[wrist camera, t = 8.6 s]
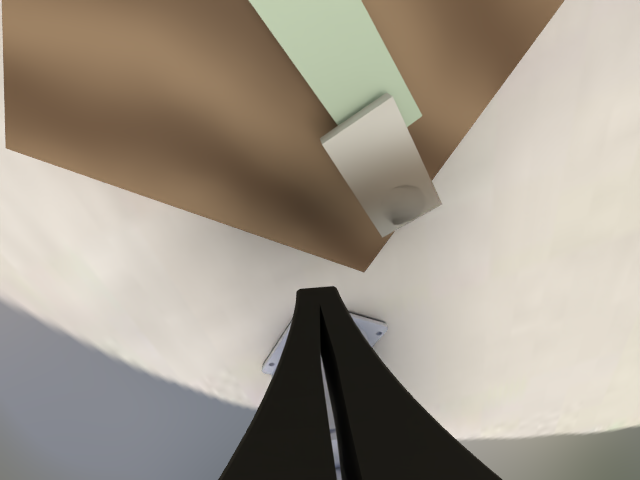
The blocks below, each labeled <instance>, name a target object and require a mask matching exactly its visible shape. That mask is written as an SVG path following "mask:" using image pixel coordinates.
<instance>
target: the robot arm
mask: <svg viewBox="0 0 640 480" xmlns="http://www.w3.org/2000/svg"><path fill="white" fill-rule="evenodd" d="M387 329H388V327H387V325H386V324H385V323H383V322H379V321H376V320H372V319H369V318H365V317H362V316H358V315H355V314H351V313H349V312H348V310H347V308H346V307H345V305H344V303H343V301H342V299H341V297H340V295H339V292H338V290H337V288H336V287H334V286H331V287H319V288H306V289H299V290H298V291H297V294H296V305H295V310H294V315H293V319H292V322H291V323H290V325H289V326H288V328H287V329H286V331H285V332H284V334H283V335H282V337H281V338H280V340H279V342H278V343H277V345H276V346H275V348H274V349H273V351H272V352H271V354H270V355H269V357H268V359H267V360H266V362H265V363H264V365H263V366H262V372H263V373H266V374H271V375H272V380H271V382H270V384H269V387H268V389H267V391H266V393H265V395H264V398H263V400H262V402H261V404H260V406H259V408H258V410H257V412H256V414H255V416H254V418H253V420H252V422H251V424H250V426H249V427H248V429H247V431H246V433H245V435H244V437H243V438H242V440H241V442H240V443H239V445H238V447H237V449H236V450H235V452H234V454H233V456H232V458H231V459H230V461H229V463H228V465H227V466H226V468H225V469H224V471H223V473H222V475H221V476H220V478H219V479H218V480H502V479H501V478H500V477H499V476H498V475H496V474H495V473H494V472H493V471H492V470H490V469H489V468H488V467H487V466H485V465H484V464H483V463H482V462H481V461H480V460H479V459H477V458H476V457H475V456H474V455H473V454H472V453H471V452H470V451H468V450H467V449H466V448H465V447H464V446H463V445H461V444H460V443H459V442H458V441H457V440H456V439H455V438H454V437H453V436H452V435H451V434H450V433H449V432H448V431H446V430H445V429H444V428H443V427H442V426H441V425H440V424H439V423H438V422H437V421H436V420H435V419H434V418H433V417H432V416H431V415H430V414H429V413H428V412H427V411H426V410H425V409H424V408H423V407H422V406H421V405H420V404H419V403H418V402H417V401H416V400H415V399H414V398H413V397H412V395H411V394H410V393H409V392H408V391H407V390H406V389H405V388H404V387H403V386H402V384H401V383H400V382H399V381H398V380H397V379H396V377H395V376H394V375H393V374H392V373H391V372H390V370H389V369H388V368H387V367H386V365H385V364H384V363H383V362H382V360H381V359H380V358H379V357H378V355H377V354H376V352H375V351H374V350H373V348H372V347H373V346H374V344H375V343H376V342H377V341H378V340H379V339H380V338H381V337H382V335H383V334H384V333H385V332H386V331H387Z"/></svg>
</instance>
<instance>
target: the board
mask: <svg viewBox="0 0 640 480" xmlns="http://www.w3.org/2000/svg"><path fill="white" fill-rule="evenodd" d="M361 1H362V3H363V5H364V6H365V8H366V10H367V12H368V14H369V16H370V18H371V20H372V22H373V23H374V25H375V27H376V29H377V31H378V33H379V35H380V37H381V38H382V40H383V42H384V44H385V46H386V48H387V50H388V52H389V54H390V55H391V57H392V59H393V61H394V63H395V65H396V67H397V69H398V71H399V72H400V74H401V76H402V78H403V80H404V82H405V84H406V86H407V88H408V89H409V91H410V93H411V95H412V97H413V99H414V101H415V103H416V105H417V106H418V108H419V110H420V112H421V114H422V116H421V117H420V118H419V119H417V120H416V121H415V122H413V123H412V124H411V125H409V126H408V127H406V124H405V122H404V120H403V118H402V116H401V113H400V111H399V109H398V107H397V105H396V102H395V100H394V98H393V96H391V95H390V94H388V93H385V94H384V95H382V96H381V97H379V98H378V99H376V100H375V101H373V102H372V103H370V104H369V105H368V106H366V107H365V108H363V109H362V110H360V111H359V112H357V113H356V114H354V115H353V116H351V117H350V118H349V119H347V120H346V121H344V122H343V123H341V124H340V125H337V124H336V122H335V121H334V119H333V118H332V117H331V115H330V114H329V112H328V111H327V110H326V108H325V107H324V105H323V104H322V103H321V101H320V100H319V98H318V97H317V96H316V94H315V93H314V91H313V90H312V89H311V87H310V86H309V84H308V83H307V82H306V80H305V79H304V77H303V76H302V74H301V73H300V72H299V70H298V69H297V67H296V66H295V65H294V63H293V62H292V60H291V59H290V58H289V56H288V55H287V53H286V52H285V51H284V49H283V48H282V46H281V45H280V44H279V42H278V41H277V39H276V38H275V37H274V35H273V34H272V32H271V31H270V30H269V28H268V27H267V25H266V24H265V23H264V21H263V20H262V18H261V17H260V16H259V14H258V13H257V11H256V10H255V9H254V7H253V6H252V4H251V3H250V2H249V0H2V26H3V63H4V101H5V139H6V148H7V149H10V150H12V151H15V152H18V153H21V154H24V155H27V156H30V157H33V158H36V159H38V160H41V161H44V162H47V163H50V164H53V165H56V166H59V167H62V168H64V169H67V170H70V171H73V172H76V173H79V174H82V175H85V176H87V177H90V178H93V179H96V180H99V181H102V182H105V183H108V184H111V185H113V186H116V187H119V188H122V189H125V190H128V191H131V192H134V193H137V194H139V195H142V196H145V197H148V198H151V199H154V200H157V201H160V202H163V203H165V204H168V205H171V206H174V207H177V208H180V209H183V210H186V211H189V212H191V213H194V214H197V215H200V216H203V217H206V218H209V219H212V220H215V221H217V222H220V223H223V224H226V225H229V226H232V227H235V228H238V229H241V230H243V231H246V232H249V233H252V234H255V235H258V236H261V237H264V238H267V239H269V240H272V241H275V242H278V243H281V244H284V245H287V246H290V247H292V248H295V249H298V250H301V251H304V252H307V253H310V254H313V255H316V256H318V257H321V258H324V259H327V260H330V261H333V262H336V263H339V264H342V265H344V266H347V267H350V268H353V269H356V270H359V271H362V272H365V271H366V269H367V268H368V267H369V265H370V264H371V263H372V261H373V260H374V258H375V257H376V256H377V254H378V253H379V252H380V250H381V249H382V248H383V246H384V245H385V244H386V242H387V241H388V239H389V238H390V237H391V235H392V234H393V233H394V231H395V230H397V229H399V228H400V227H402V226H404V225H406V224H408V223H409V222H411V221H413V220H415V219H417V218H418V217H420V216H422V215H424V214H425V213H427V212H429V211H431V210H433V209H434V208H436V207H438V206H440V205H441V204H442V203H441V201H440V199H439V197H438V194H437V192H436V190H435V188H434V186H433V183H432V180H433V178H434V177H435V176H436V174H437V173H438V171H439V170H440V169H441V167H442V166H443V165H444V163H445V162H446V161H447V159H448V158H449V157H450V155H451V154H452V152H453V151H454V150H455V148H456V147H457V146H458V144H459V143H460V142H461V140H462V139H463V138H464V136H465V135H466V133H467V132H468V131H469V129H470V128H471V127H472V125H473V124H474V123H475V121H476V120H477V118H478V117H479V116H480V114H481V113H482V112H483V110H484V109H485V108H486V106H487V105H488V104H489V102H490V101H491V99H492V98H493V97H494V95H495V94H496V93H497V91H498V90H499V89H500V87H501V86H502V85H503V83H504V82H505V80H506V79H507V78H508V76H509V75H510V74H511V72H512V71H513V70H514V68H515V67H516V65H517V64H518V63H519V61H520V60H521V59H522V57H523V56H524V55H525V53H526V52H527V51H528V49H529V48H530V46H531V45H532V44H533V42H534V41H535V40H536V38H537V37H538V36H539V34H540V33H541V32H542V30H543V29H544V27H545V26H546V25H547V23H548V22H549V21H550V19H551V18H552V17H553V15H554V14H555V12H556V11H557V10H558V8H559V7H560V6H561V4H562V3H563V2H564V0H361Z"/></svg>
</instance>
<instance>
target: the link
mask: <svg viewBox="0 0 640 480" xmlns="http://www.w3.org/2000/svg"><path fill="white" fill-rule="evenodd" d="M249 2H250V3H251V4H252V6H253V7H254V9H255V10H256V11H257V13H258V14H259V16H260V17H261V18H262V20H263V21H264V23H265V24H266V25H267V27H268V28H269V30H270V31H271V32H272V34H273V35H274V37H275V38H276V39H277V41H278V42H279V44H280V45H281V46H282V48H283V49H284V51H285V52H286V53H287V55H288V56H289V58H290V59H291V60H292V62H293V63H294V65H295V66H296V67H297V69H298V70H299V72H300V73H301V74H302V76H303V77H304V79H305V80H306V82H307V83H308V84H309V86H310V87H311V89H312V90H313V91H314V93H315V94H316V96H317V97H318V98H319V100H320V101H321V103H322V104H323V105H324V107H325V108H326V110H327V111H328V112H329V114H330V115H331V117H332V118H333V119H334V121H335V122H336V124H337V125H340V124H341V123H343V122H344V121H346V120H347V119H349V118H350V117H351V116H353V115H354V114H356V113H357V112H359V111H360V110H362V109H363V108H365V107H366V106H368V105H369V104H370V103H372V102H373V101H375V100H376V99H378V98H379V97H381V96H382V95H384V94H385V93H388V94H390V95H391V96H393V98H394V100H395V102H396V105H397V107H398V109H399V111H400V113H401V116H402V118H403V120H404V122H405V124H406V127H408V126H409V125H411V124H412V123H413V122H415V121H416V120H417V119H419V118H420V117H421V116H422V114H421V112H420V110H419V108H418V106H417V105H416V103H415V101H414V99H413V97H412V95H411V93H410V91H409V89H408V88H407V86H406V84H405V82H404V80H403V78H402V76H401V74H400V72H399V71H398V69H397V67H396V65H395V63H394V61H393V59H392V57H391V55H390V54H389V52H388V50H387V48H386V46H385V44H384V42H383V40H382V38H381V37H380V35H379V33H378V31H377V29H376V27H375V25H374V23H373V22H372V20H371V18H370V16H369V14H368V12H367V10H366V8H365V6H364V5H363V3H362V1H361V0H249Z"/></svg>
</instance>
